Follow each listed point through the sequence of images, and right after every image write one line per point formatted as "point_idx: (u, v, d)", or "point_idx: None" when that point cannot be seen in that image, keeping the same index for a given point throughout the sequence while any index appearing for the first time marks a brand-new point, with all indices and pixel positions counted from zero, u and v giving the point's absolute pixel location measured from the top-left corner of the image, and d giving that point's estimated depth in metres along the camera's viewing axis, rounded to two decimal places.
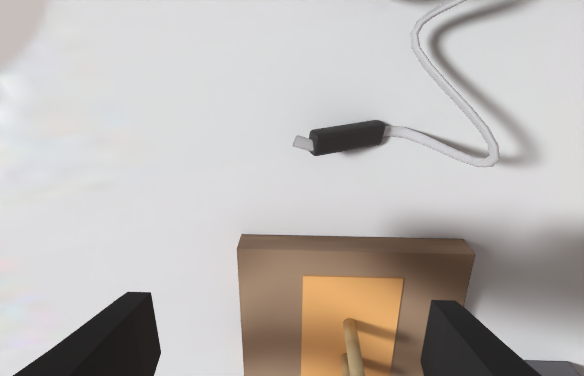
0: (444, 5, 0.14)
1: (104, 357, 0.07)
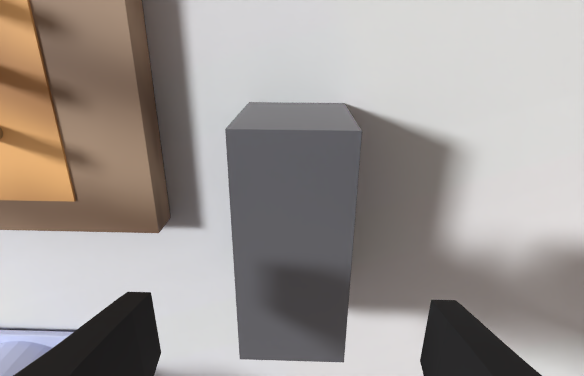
0: None
1: (104, 357, 0.07)
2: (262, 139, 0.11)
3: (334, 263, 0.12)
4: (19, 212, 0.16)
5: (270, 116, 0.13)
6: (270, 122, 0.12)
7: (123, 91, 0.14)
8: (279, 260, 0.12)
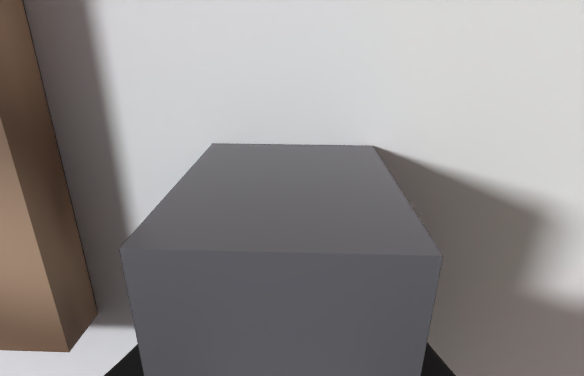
0: None
1: None
2: (207, 270, 0.05)
3: None
4: None
5: (238, 189, 0.06)
6: (232, 214, 0.05)
7: None
8: None
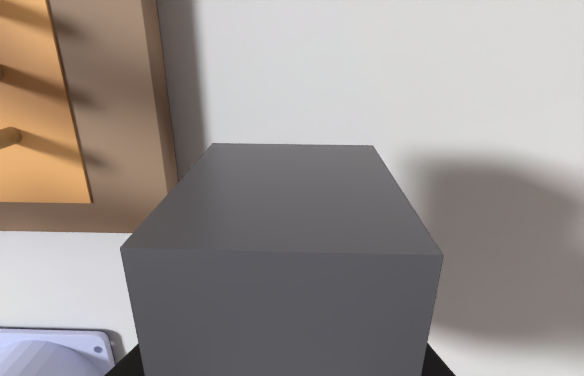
0: None
1: None
2: (207, 270, 0.05)
3: None
4: (36, 214, 0.16)
5: (238, 189, 0.06)
6: (233, 214, 0.05)
7: (139, 95, 0.14)
8: None
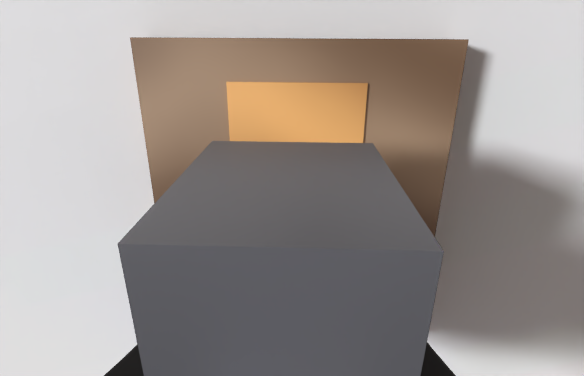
0: None
1: None
2: (206, 266, 0.05)
3: None
4: None
5: (237, 186, 0.06)
6: (232, 210, 0.05)
7: None
8: None
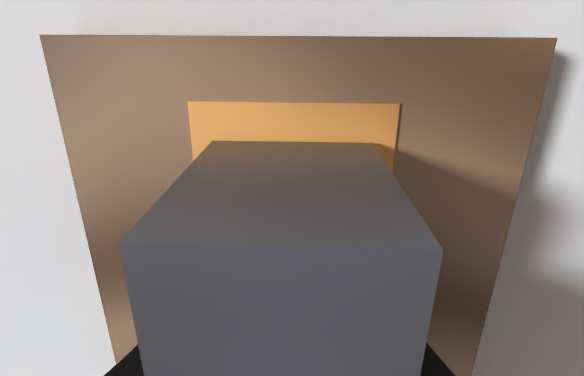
0: None
1: None
2: (206, 265, 0.05)
3: None
4: None
5: (237, 185, 0.06)
6: (232, 210, 0.05)
7: (467, 314, 0.11)
8: None
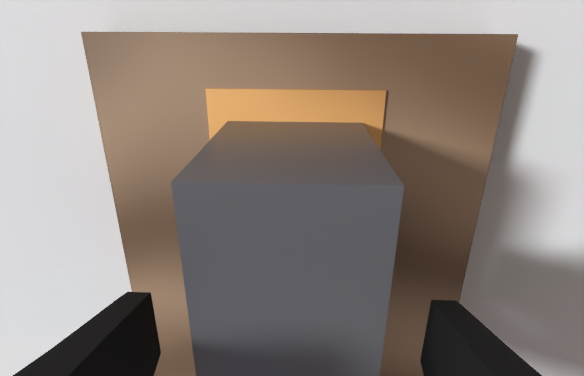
0: None
1: (104, 357, 0.07)
2: (234, 199, 0.06)
3: None
4: None
5: (252, 150, 0.08)
6: (250, 164, 0.07)
7: (448, 277, 0.13)
8: (266, 374, 0.08)
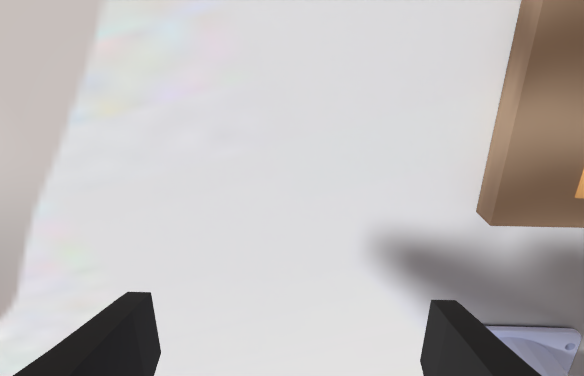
0: None
1: (104, 357, 0.07)
2: None
3: None
4: None
5: None
6: None
7: None
8: None
